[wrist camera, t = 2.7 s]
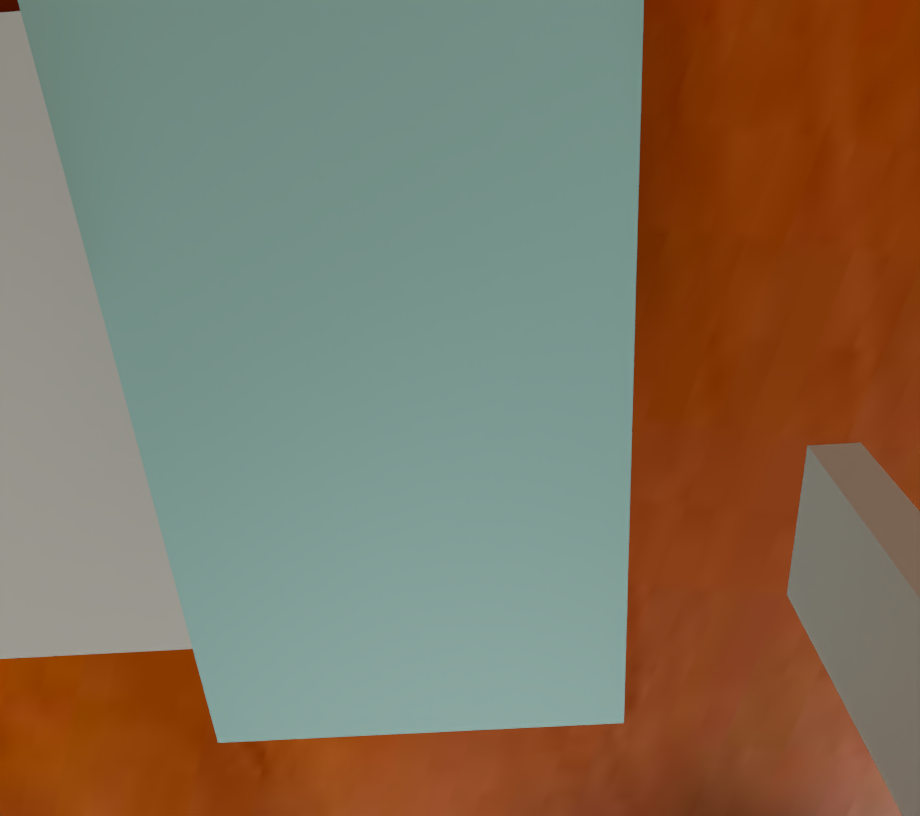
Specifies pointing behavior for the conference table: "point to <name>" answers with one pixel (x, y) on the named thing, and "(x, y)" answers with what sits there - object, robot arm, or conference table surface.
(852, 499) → the robot arm
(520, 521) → the lid
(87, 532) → the mat
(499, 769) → the conference table surface
